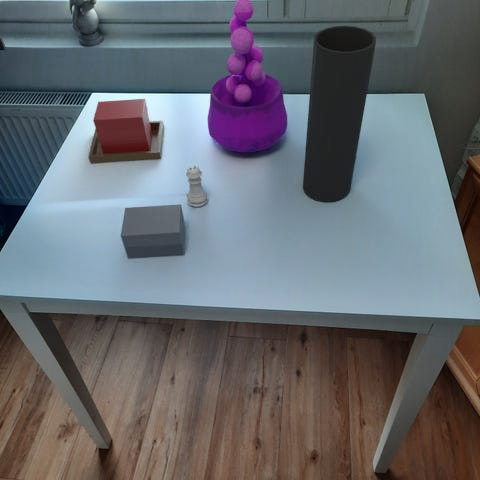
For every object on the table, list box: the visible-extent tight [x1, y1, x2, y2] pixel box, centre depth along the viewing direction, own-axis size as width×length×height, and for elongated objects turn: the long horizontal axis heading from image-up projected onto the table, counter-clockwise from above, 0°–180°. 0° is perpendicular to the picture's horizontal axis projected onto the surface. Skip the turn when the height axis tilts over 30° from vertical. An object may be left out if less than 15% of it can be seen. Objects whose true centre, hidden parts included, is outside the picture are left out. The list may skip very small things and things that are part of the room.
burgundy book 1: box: [92, 98, 149, 132], centre depth 108 cm, size 11×8×3 cm
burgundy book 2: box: [97, 112, 151, 144], centre depth 110 cm, size 11×8×3 cm
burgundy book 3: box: [101, 125, 152, 154], centre depth 113 cm, size 11×8×3 cm
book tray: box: [87, 120, 165, 165], centre depth 114 cm, size 17×14×3 cm
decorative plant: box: [207, 0, 288, 153], centre depth 102 cm, size 19×18×30 cm
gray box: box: [120, 203, 186, 260], centre depth 92 cm, size 11×8×6 cm
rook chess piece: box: [185, 165, 209, 208], centre depth 98 cm, size 4×4×8 cm
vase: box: [302, 25, 377, 203], centre depth 90 cm, size 10×10×30 cm
